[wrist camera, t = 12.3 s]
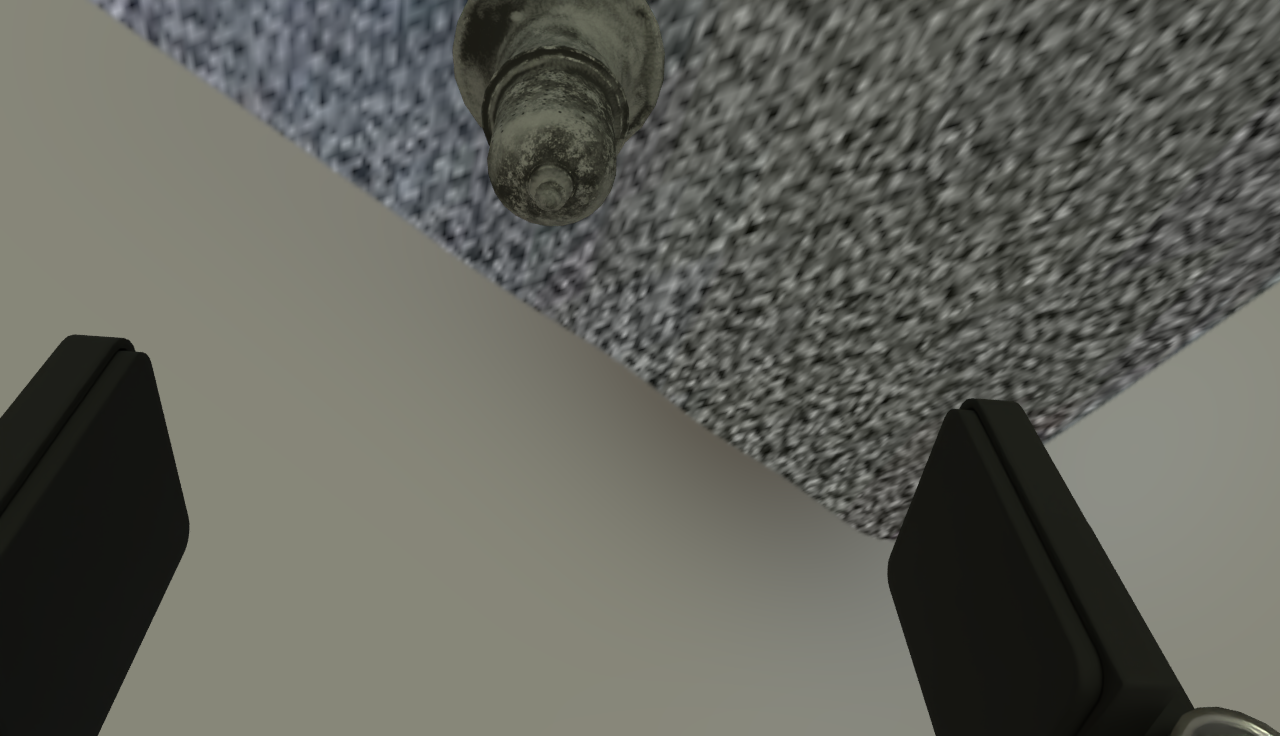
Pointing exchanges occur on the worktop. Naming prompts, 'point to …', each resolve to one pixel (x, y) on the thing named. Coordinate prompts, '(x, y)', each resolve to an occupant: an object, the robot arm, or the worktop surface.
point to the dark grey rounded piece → (557, 96)
